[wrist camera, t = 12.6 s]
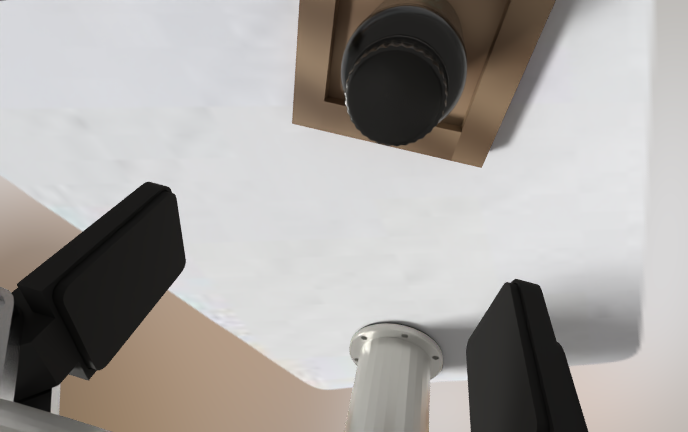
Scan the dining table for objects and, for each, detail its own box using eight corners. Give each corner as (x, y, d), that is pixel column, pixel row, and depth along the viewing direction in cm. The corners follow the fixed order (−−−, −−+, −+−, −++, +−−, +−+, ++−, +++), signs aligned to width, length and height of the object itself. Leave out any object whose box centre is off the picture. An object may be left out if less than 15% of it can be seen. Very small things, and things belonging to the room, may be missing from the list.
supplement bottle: (444, 99, 28) (443, 179, 19) (358, 79, 29) (315, 147, 19) (477, -2, 24) (497, 37, 15) (375, -23, 25) (332, 1, 15)
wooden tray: (479, 155, 31) (481, 167, 30) (300, 113, 33) (292, 123, 31) (581, -85, 21) (593, -86, 20) (318, -131, 23) (308, -137, 21)
